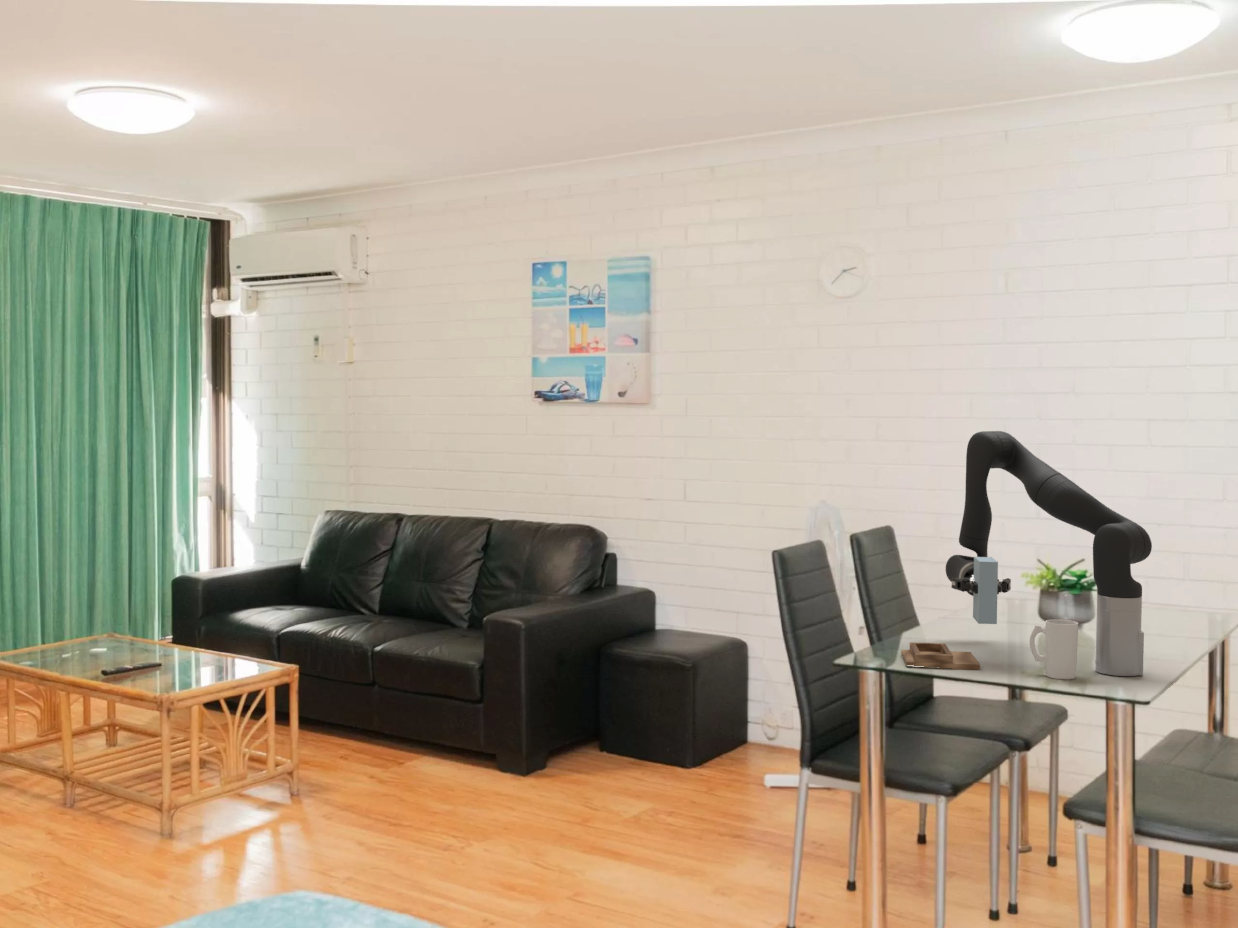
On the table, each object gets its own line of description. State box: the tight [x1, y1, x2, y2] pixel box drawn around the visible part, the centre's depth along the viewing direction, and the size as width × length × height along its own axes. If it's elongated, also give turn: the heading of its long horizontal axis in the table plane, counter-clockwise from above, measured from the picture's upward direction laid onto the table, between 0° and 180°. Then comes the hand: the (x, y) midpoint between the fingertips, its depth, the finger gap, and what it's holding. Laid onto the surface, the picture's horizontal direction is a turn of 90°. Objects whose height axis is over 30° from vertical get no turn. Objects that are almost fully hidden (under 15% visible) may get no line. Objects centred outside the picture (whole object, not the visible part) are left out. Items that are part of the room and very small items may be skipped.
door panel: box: [972, 556, 999, 625], centre depth 278 cm, size 4×9×14 cm, turn 171°
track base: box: [900, 641, 981, 671], centre depth 282 cm, size 16×15×3 cm
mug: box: [1029, 619, 1079, 680], centre depth 267 cm, size 10×7×12 cm, turn 60°
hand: (987, 589), depth 275 cm, fingers closed on door panel, 4 cm apart
